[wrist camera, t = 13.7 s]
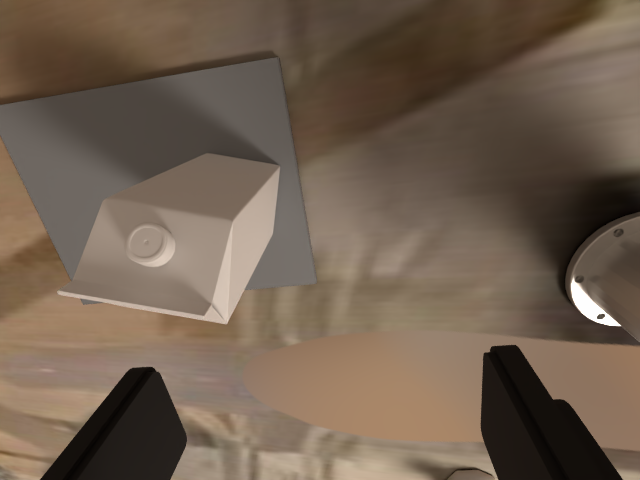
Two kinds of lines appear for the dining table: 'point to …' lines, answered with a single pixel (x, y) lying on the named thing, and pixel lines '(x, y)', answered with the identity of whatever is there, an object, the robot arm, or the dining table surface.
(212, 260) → the milk carton
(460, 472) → the flask
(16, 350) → the dining table surface
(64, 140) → the mat
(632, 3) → the dining table surface
